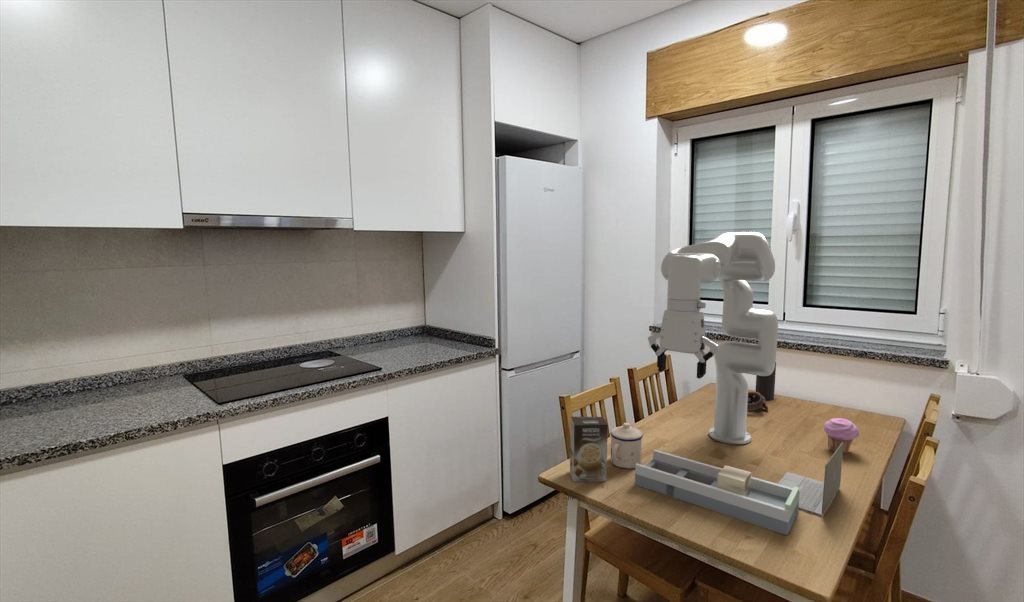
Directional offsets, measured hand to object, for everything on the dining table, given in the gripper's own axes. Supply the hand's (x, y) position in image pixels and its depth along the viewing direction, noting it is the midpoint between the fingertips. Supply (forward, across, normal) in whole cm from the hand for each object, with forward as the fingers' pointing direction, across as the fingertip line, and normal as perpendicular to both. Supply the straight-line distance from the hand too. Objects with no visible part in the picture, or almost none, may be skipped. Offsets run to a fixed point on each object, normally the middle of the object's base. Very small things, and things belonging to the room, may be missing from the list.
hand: (680, 373), depth 123 cm
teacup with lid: (+31, +18, -6) cm, 37 cm away
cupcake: (+31, -29, -55) cm, 70 cm away
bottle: (+31, +1, -95) cm, 100 cm away
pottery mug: (+32, +1, -77) cm, 83 cm away
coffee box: (+31, +22, +7) cm, 39 cm away
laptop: (+32, -25, -20) cm, 45 cm away
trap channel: (+31, -8, -3) cm, 32 cm away
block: (+28, -13, -3) cm, 31 cm away
